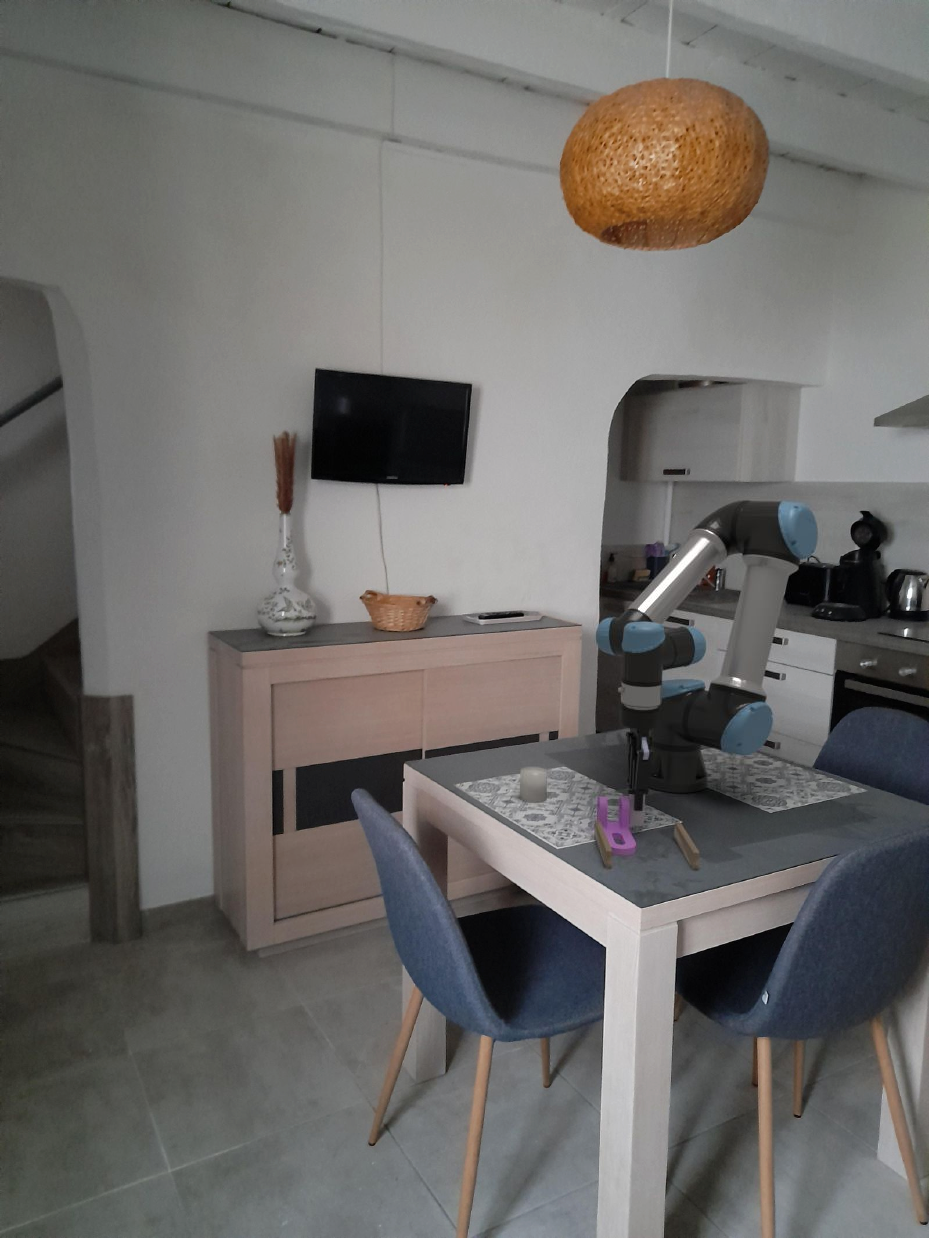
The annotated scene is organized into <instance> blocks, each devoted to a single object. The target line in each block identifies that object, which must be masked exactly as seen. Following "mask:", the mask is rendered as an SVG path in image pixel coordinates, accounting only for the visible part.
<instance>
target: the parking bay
mask: <svg viewBox="0 0 929 1238" xmlns="http://www.w3.org/2000/svg"><path fill="white" fill-rule="evenodd" d="M673 831H674V833H673V838H674V840H675V842H676V843H677V845H678V847H679V849H680V851H682V854H683V855H684V857H685V858H686V860H687V862H688V863H689V865H690V867H691V869H692V870H700V857H701V855H700V854H701V852H700V851H699V849H698V848H697V847H696V845H695V843H694V842H693V840H692V838H691V837H690V835H689V834H688V832H687V831H686V829H685V827H684V826H683V824H682V823H681V822H680V821H677V822H674V830H673ZM593 833H594V835H593V836H594V837H593V838H594V839H595V842H596V845H597V848H598V850H599V853H600V856H601V859H602V861H603V864H604V866H605V869H612V867H613V854H612V849H611V847H610V844H609V842H608V839H607V837H606V834H605V832H604V829H603V827H602V824H601V822H600V821H597V820H594V832H593Z"/></svg>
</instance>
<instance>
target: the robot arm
mask: <svg viewBox="0 0 929 1238" xmlns="http://www.w3.org/2000/svg"><path fill="white" fill-rule="evenodd" d="M817 523H818V522H817V520H816V517H815V514H814V513H813V511H812V510H811V508H810V507H809V506H808V505H806V504H804V503H803V502H797V501H795V502H794V501H788V500H782V501H773V500H772V501H770V500H748V499H747V500H745V499H744V500H736V501H731V503H728V504H725V505H723V506H721V507H719V508H718V509H716V510H715V511H712V512H711V513H710V514H708V515H707V516H705V517H704V518H703V519H702V520H701V521H700V522H699V523H697V525H696V526H694V528H693V529H692V530H691V531H690V532H689V533H688V535H687V537H686V539H687V540H686V541H687V542H686V543H685V544H684V546H683V547H682V548H681V549H680V550H679V551H678V552H677V553H676V555H675V556H673V558H672V559H671V560H670V561H669V562H668V563H667V565H665V567H664V568H662V570H661V571H660V572H659V573H658V574H657V575H656V576H655V578H653V580H652V581H651V582H650V584H648V585H647V586H646V587H645V589H644V590H642V592H641V593H640V594H639V595H638V596H637V598H636V599H635V600H634V601H633V602H632V603H631V604H630V605H629V606H628V608H627V609H626V610H625V611H624V612H623V613H622V614H621V615H620V616H619V617H616V616H613V617H607V618H604V619H602V620H601V621H600V622H599V624H598V626H597V628H596V632H595V642H596V645H597V647H598V648H599V650H601V652H603V653H605V654H609V655H612V656H615V657H621V658H622V661H621V687H618V688H617V691H618V693H620V702H621V703H622V704H621V705H620V707H619V709H620V711H619V723H620V724H621V726H623V727H625V728H628V729H629V731H626V733H625V736H626V747H627V748H626V760H627V761H626V767H627V768H626V769H627V770H626V771H627V773H626V775H627V776H626V777H627V778H626V782H627V783H628V784H629V785H628V788H629V789H628V790H627V792H628V793H627V794H628V798H629V802H630V819H629V827H645V813H646V812H645V809H646V795H649V788H650V789H653V790H656V791H661V792H669V793H675V794H676V793H679V794H681V793H682V794H686V793H695V792H699V791H703V790H705V789H706V788H707V786H708V780H709V779H708V776H709V775H708V772H707V771H708V770H707V769H706V763H705V760H704V757H703V754H702V753H703V752H702V746H704V747H707V748H711V749H714V750H717V751H720V752H724V753H726V754H728V755H732V754H734V755H738V756H741V757H742V756H744V757H747V756H750V755H753V754H754V753H757V751H759V749H761V748H762V747H763V746H764V745H765V743H766V742H767V740H768V738H769V736H770V734H771V731H772V727H773V723H774V718H773V716H774V715H773V711H772V708H771V707H770V706H769V704H767V703H766V702H767V697H768V695H767V693H766V692H765V690H764V689H763V686H762V685H763V682H764V678H765V673H766V670H767V665H768V661H769V658H770V652H771V651H772V650H771V649H772V644H773V641H774V637H775V633H776V630H777V626H778V625H777V624H778V621H779V616H780V612H781V608H782V604H783V600H784V596H785V592H786V589H787V584H788V580H789V576H790V575H792V574H794V573H795V572H798V570H799V568H800V567H799V566H800V563H801V560H806V559H809V558H810V557H812V555H813V554H814V553H815V551H816V548H817V544H818V538H819V537H818V536H819V532H818V524H817ZM737 554H742V555H741V560H742V561H743V563H744V565H745V566H746V570H745V573H744V577H743V581H742V585H741V589H740V590H741V591H740V593H739V598H738V601H737V606H736V610H735V614H734V618H733V623H732V626H731V630H730V634H729V638H728V643H727V645H726V650H725V654H724V659H723V662H722V665H721V666H722V667H721V670H720V675H719V676H718V677H716V678H714V679H713V680H711V681H710V682H709V688H708V690H706V687H707V686H706V684H705V682H704V681H703V680H700V679H694V678H692V679H689V678H687V679H686V678H677V679H675V678H674V679H667V680H663V671H667V670H672V669H678V668H684V667H685V668H686V667H689V666H691V665H694V664H698V663H699V662H700V661H701V660H703V659H704V656H705V655H706V652H707V651H706V650H707V642H706V641H707V640H706V638H705V637H704V636H705V635H704V634H703V633H702V631H700V629H698V628H696V627H694V626H680V627H671V626H663V624H664V623H665V622H666V621H667V620H668V618H669V617H670V616H671V615H672V613H674V612H675V611H676V609H678V607H679V606H680V605H681V604H682V603H683V601H684V600H685V599H686V598H687V597H688V595H690V593H691V592H692V591H693V590H694V589H695V587H697V585H698V584H699V583H700V582H701V581H702V579H703V578H704V577H706V575H707V574H708V573H709V572H710V570H711V569H712V568H713V567H714V566H715V565H720V564H722V563H724V561H725V560H726V559H727V558H728V557H730V556H733V555H737Z"/></svg>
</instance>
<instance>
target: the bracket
mask: <svg viewBox="0 0 929 1238" xmlns="http://www.w3.org/2000/svg"><path fill="white" fill-rule="evenodd" d="M596 801H597V802H596V803H597V804H596V821H600V822H601V824H602V827H603V829H604V832H605V834H606V837H607V839H608V842H609V844H610V847H611V849H612V855H614V856H631V855H634V854H635V853H636V851H637V843H636V840H635V839H634V836H633V834H632V833H631V830H630V825H629V819H630V802H629V796H620V797H619V800H618V814H617V815H618V817H617V818H618V820H617V821H608V811H609V810H608V809H609V808H608V807H609V805H608V798H607V796H597V800H596ZM615 840H618V841H621V843H622V844H618V843H616V842H615Z"/></svg>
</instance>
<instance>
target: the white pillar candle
mask: <svg viewBox="0 0 929 1238" xmlns="http://www.w3.org/2000/svg"><path fill="white" fill-rule="evenodd" d="M519 775H520V778H519V800H521V801H523V802H525V803H530V804H531V803H532V804H541V803H544V802H546V801H547V798H548V797H547V796H548V794H547V793H548V770H547V769H546V768H543V767H541V766H524V767H523V768H521V769H520V774H519Z"/></svg>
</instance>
